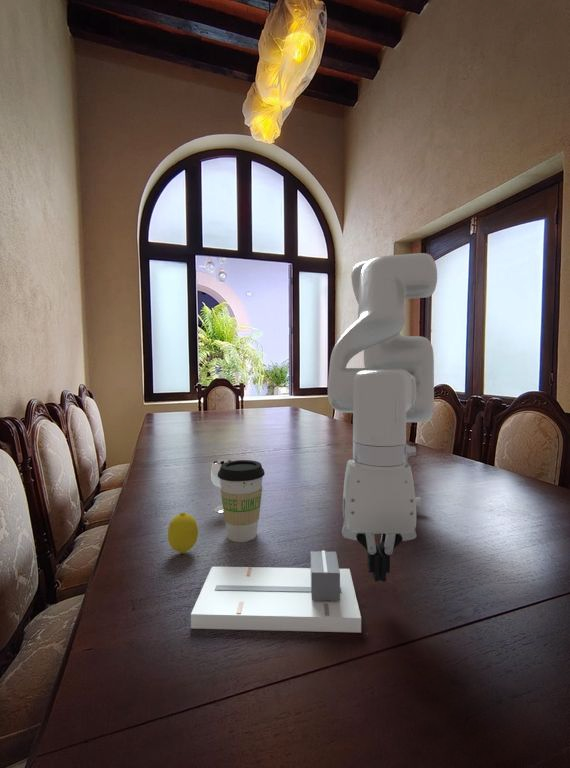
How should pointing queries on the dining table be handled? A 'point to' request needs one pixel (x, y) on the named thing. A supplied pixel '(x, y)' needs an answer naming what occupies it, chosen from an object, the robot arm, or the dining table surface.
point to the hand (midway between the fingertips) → (378, 576)
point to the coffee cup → (241, 498)
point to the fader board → (273, 601)
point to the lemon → (182, 532)
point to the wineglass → (217, 479)
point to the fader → (325, 576)
